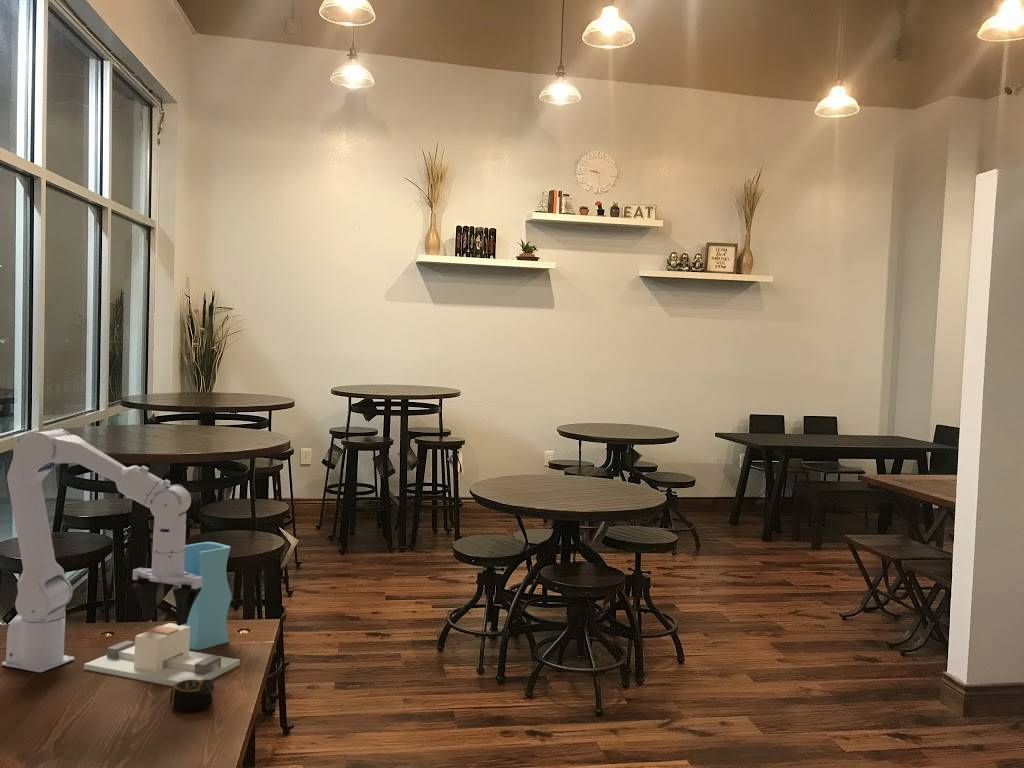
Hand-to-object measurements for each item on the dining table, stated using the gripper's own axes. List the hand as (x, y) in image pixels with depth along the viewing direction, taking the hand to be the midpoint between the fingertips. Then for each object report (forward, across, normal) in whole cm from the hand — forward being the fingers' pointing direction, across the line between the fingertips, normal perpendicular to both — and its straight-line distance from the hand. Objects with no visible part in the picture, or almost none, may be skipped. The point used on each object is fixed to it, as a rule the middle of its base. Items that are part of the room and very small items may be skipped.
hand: (165, 621), depth 157 cm
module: (+8, 0, 0) cm, 8 cm away
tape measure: (+9, +17, -12) cm, 23 cm away
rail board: (+9, 0, 0) cm, 9 cm away
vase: (+9, -3, +15) cm, 18 cm away
